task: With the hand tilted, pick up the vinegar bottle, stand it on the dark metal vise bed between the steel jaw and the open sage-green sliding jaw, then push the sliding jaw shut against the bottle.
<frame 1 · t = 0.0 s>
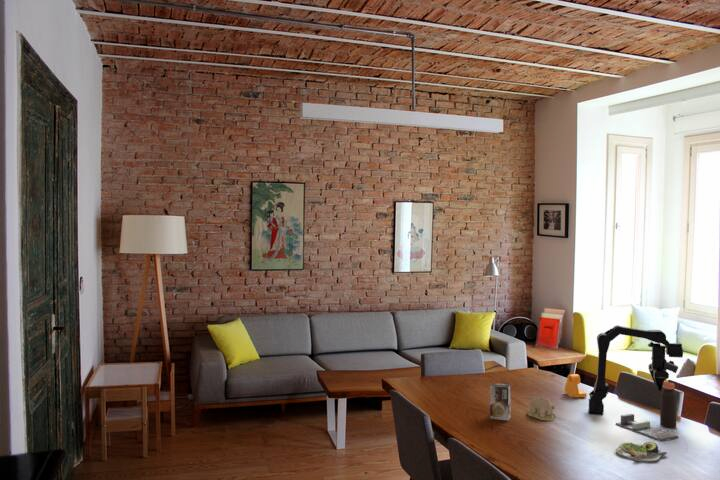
hand: (658, 388, 296), 15 cm above the table, tool pointing down, fingers open, 9 cm apart
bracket: (575, 396, 335), on the table
coffee box: (500, 418, 294), on the table
vinegar: (668, 426, 284), on the table
ceramic model: (541, 417, 297), on the table
salad plate: (640, 455, 248), on the table
sliding jaw: (634, 421, 282), point 3 cm above the table, slide at 4.6 cm
vise: (654, 434, 272), on the table
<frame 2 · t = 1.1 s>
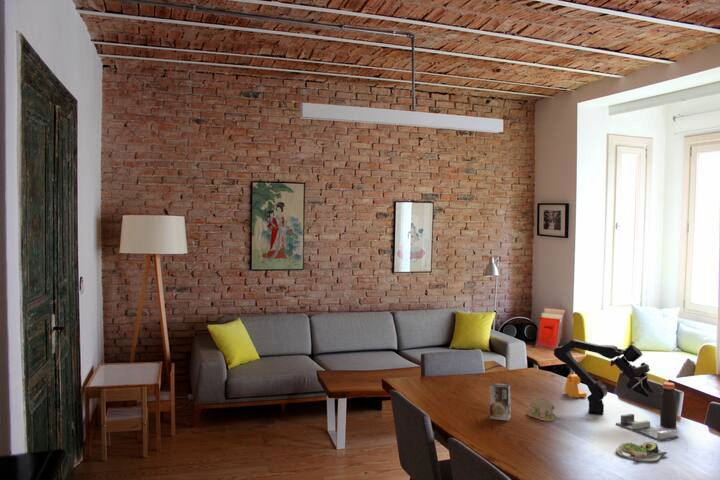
hand: (650, 394, 289), 13 cm above the table, tool tilted 45°, fingers open, 9 cm apart
nothing on the table moved.
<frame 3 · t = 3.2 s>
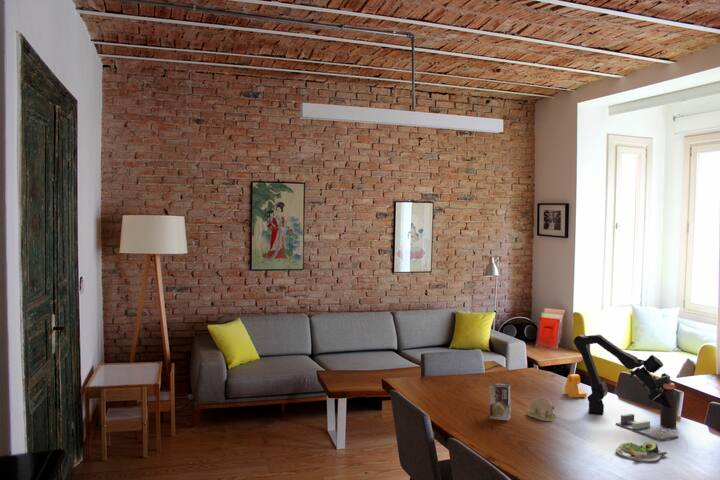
hand: (671, 405, 283), 10 cm above the table, tool tilted 45°, fingers closed on vinegar, 6 cm apart
vinegar: (668, 426, 284), on the table, touching gripper
when the fingers open (12 cm above the table, at t = 6.7 s): vinegar stays where it is, resting on vise.
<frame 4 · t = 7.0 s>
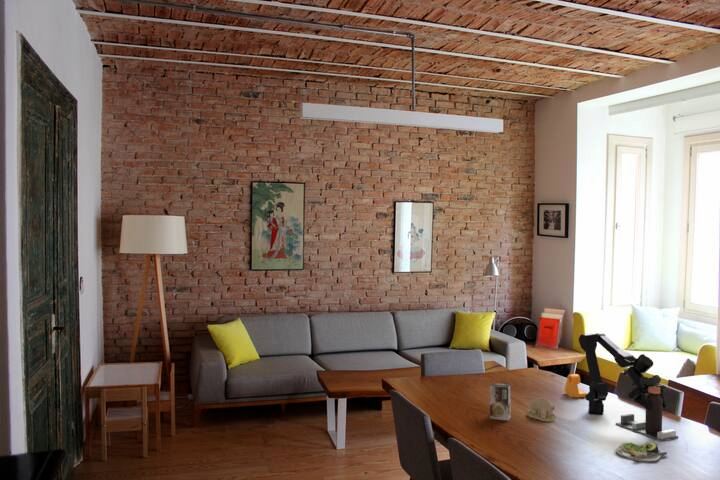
hand: (657, 408, 271), 12 cm above the table, tool tilted 45°, fingers open, 9 cm apart
vinegar: (653, 432, 273), point 1 cm above the table, touching gripper, vise
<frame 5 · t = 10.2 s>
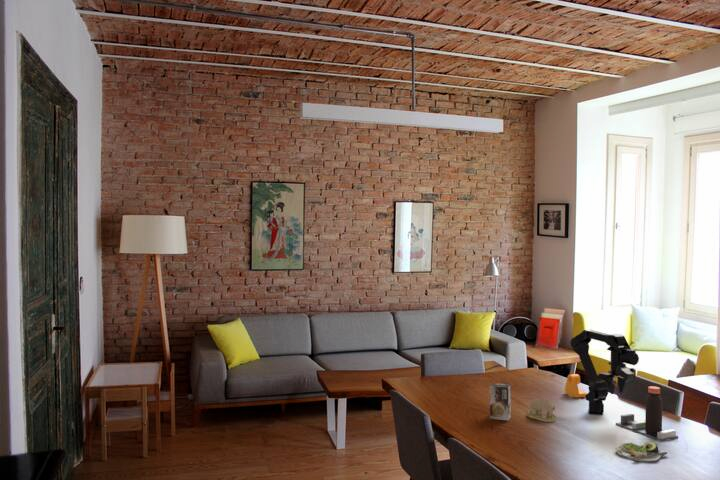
hand: (616, 393, 292), 13 cm above the table, tool pointing down, fingers open, 6 cm apart
vinegar: (653, 432, 273), point 1 cm above the table, touching vise
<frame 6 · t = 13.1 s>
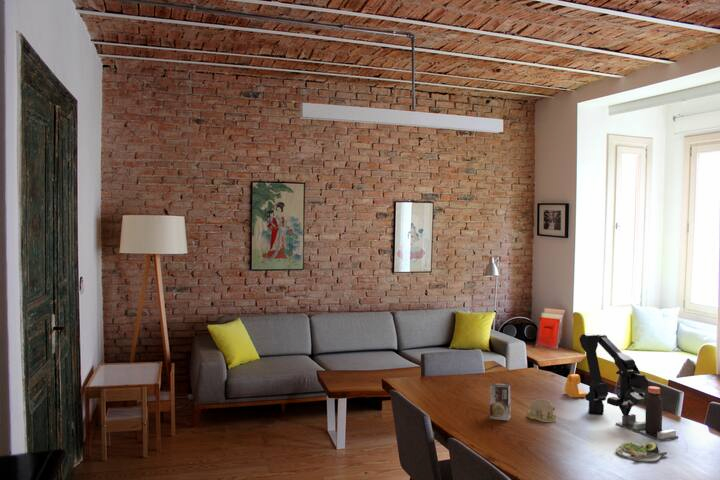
hand: (625, 418, 287), 3 cm above the table, tool pointing down, fingers closed, pressing on sliding jaw
sliding jaw: (635, 421, 282), point 3 cm above the table, slide at 3.8 cm, touching gripper
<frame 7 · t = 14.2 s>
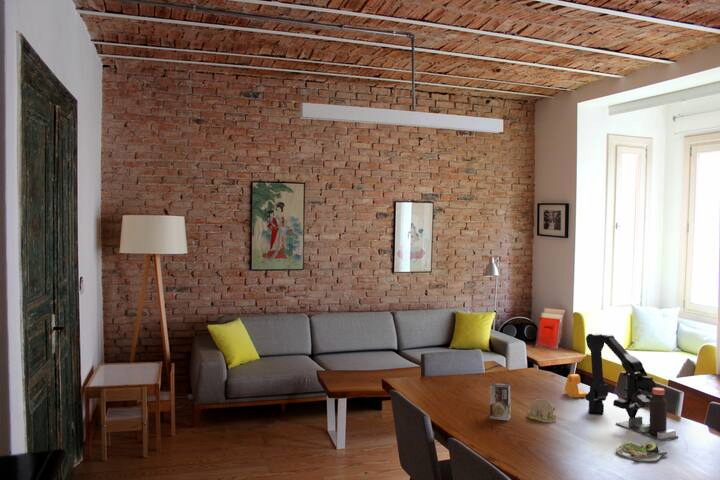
hand: (632, 420, 284), 3 cm above the table, tool pointing down, fingers closed, pressing on sliding jaw
vinegar: (657, 433, 271), point 1 cm above the table, touching sliding jaw, vise
sliding jaw: (642, 424, 278), point 3 cm above the table, slide at 0.0 cm, touching gripper, vinegar
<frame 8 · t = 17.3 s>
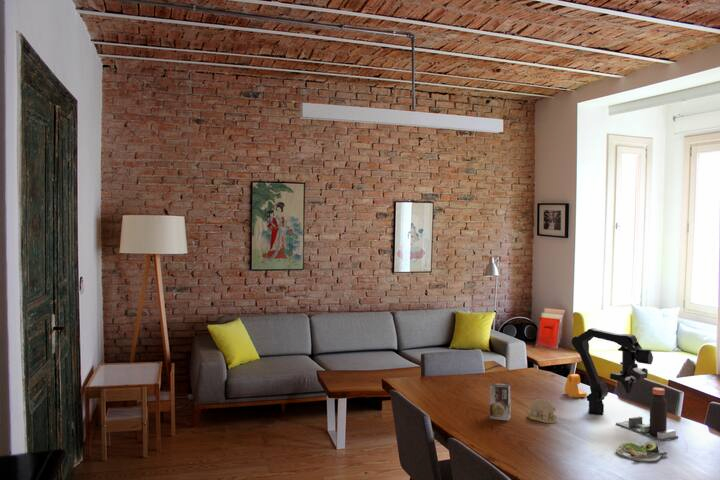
hand: (628, 393, 292), 13 cm above the table, tool pointing down, fingers closed
vinegar: (657, 433, 271), point 1 cm above the table, touching vise
sliding jaw: (642, 424, 278), point 3 cm above the table, slide at 0.0 cm
at the end: sliding jaw slide at 0.0 cm; vinegar tilted 0°; vinegar 0.6 cm from the target spot on the vise, point 0.6 cm above the vise's base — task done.
